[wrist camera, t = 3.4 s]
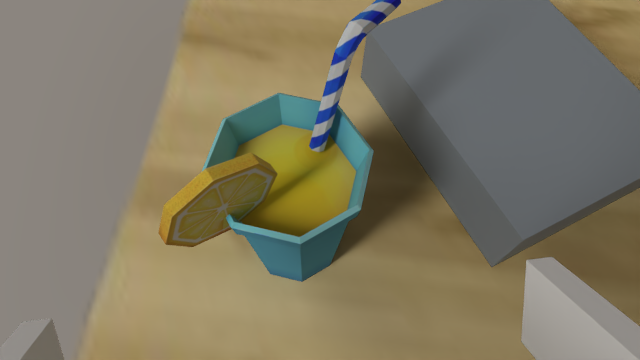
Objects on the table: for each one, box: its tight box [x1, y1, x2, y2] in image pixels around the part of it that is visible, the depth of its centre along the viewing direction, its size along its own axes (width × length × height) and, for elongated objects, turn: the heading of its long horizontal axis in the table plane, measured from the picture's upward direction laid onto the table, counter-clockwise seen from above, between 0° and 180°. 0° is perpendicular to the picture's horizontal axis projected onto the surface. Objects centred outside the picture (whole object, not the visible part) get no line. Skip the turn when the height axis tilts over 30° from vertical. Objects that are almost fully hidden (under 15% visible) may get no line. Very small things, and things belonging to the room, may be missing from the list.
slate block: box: [361, 0, 640, 267], centre depth 32 cm, size 13×17×5 cm
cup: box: [159, 0, 401, 282], centre depth 24 cm, size 14×8×15 cm, turn 144°
